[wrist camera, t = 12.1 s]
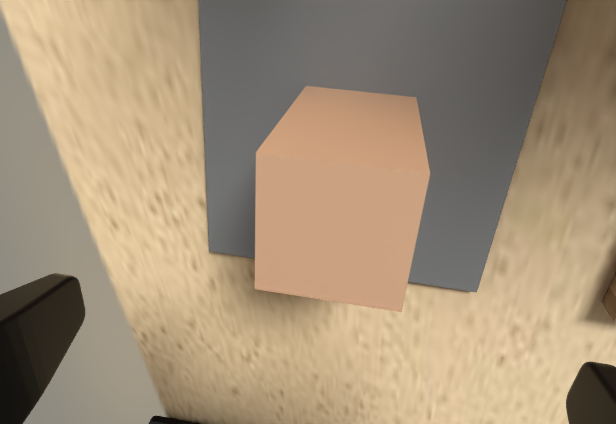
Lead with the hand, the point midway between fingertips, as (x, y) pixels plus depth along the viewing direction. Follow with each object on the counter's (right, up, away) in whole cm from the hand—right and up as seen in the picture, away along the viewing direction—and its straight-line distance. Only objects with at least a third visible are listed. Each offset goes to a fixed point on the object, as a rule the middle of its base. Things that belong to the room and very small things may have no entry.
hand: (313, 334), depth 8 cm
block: (+2, +5, +9) cm, 11 cm away
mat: (+2, +5, +10) cm, 11 cm away
